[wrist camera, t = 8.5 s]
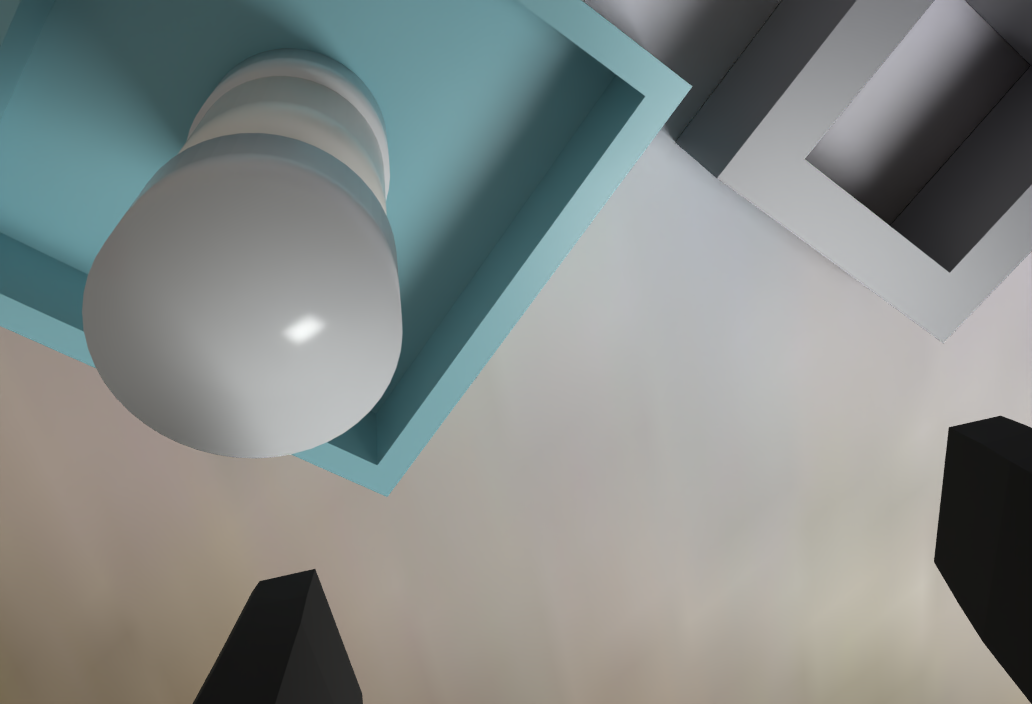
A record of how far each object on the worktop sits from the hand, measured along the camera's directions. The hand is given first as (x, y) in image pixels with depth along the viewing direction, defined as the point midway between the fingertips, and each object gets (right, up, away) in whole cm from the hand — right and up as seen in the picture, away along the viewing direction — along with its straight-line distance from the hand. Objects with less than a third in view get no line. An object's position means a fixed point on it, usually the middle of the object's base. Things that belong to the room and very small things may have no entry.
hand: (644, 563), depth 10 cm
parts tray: (-6, +7, +7) cm, 11 cm away
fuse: (-6, +6, +7) cm, 11 cm away
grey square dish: (+7, +8, +9) cm, 13 cm away
